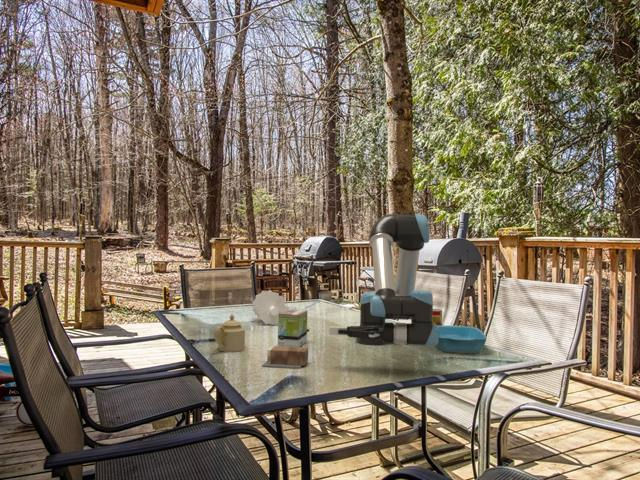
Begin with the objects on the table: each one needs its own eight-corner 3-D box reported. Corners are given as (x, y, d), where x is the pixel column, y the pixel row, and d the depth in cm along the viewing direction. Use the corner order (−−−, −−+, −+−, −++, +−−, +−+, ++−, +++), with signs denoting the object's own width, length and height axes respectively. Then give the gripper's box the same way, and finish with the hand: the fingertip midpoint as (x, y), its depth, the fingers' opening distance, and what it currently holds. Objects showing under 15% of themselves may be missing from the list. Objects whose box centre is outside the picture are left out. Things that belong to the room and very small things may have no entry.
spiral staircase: (266, 333, 255) (258, 323, 279) (295, 318, 259) (285, 310, 283) (252, 304, 252) (245, 296, 276) (281, 289, 256) (272, 283, 280)
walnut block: (308, 347, 179) (272, 345, 182) (304, 351, 172) (267, 349, 175) (307, 360, 179) (272, 359, 182) (304, 365, 172) (267, 363, 175)
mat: (306, 360, 182) (306, 359, 182) (299, 368, 170) (300, 367, 170) (271, 358, 184) (271, 357, 184) (262, 366, 172) (262, 365, 172)
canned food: (444, 334, 239) (445, 310, 239) (431, 334, 237) (431, 311, 237) (436, 331, 247) (436, 308, 247) (423, 332, 244) (423, 308, 244)
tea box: (299, 348, 203) (299, 314, 203) (277, 347, 205) (277, 313, 205) (307, 341, 218) (307, 309, 218) (286, 340, 220) (286, 308, 220)
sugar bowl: (240, 354, 191) (240, 317, 191) (213, 354, 191) (213, 317, 191) (246, 346, 206) (247, 312, 206) (221, 346, 206) (222, 311, 206)
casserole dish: (428, 337, 231) (428, 323, 231) (476, 339, 228) (476, 324, 228) (435, 355, 195) (435, 337, 195) (491, 358, 191) (491, 340, 191)
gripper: (394, 348, 164) (327, 344, 168) (394, 339, 177) (331, 336, 181) (394, 326, 164) (327, 323, 168) (394, 319, 177) (332, 317, 181)
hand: (329, 330), depth 174 cm, fingers closed
